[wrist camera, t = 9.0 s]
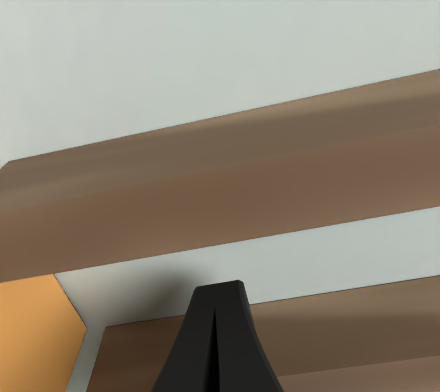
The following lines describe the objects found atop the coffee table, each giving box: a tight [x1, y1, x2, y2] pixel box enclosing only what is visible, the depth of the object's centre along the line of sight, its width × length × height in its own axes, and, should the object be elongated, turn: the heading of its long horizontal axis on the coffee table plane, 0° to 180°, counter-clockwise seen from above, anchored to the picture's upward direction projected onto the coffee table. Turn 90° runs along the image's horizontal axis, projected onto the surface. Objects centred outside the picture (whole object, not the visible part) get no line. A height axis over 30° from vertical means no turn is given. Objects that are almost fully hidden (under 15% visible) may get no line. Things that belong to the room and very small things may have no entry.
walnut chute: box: [0, 69, 440, 392], centre depth 11 cm, size 10×22×3 cm, turn 103°
